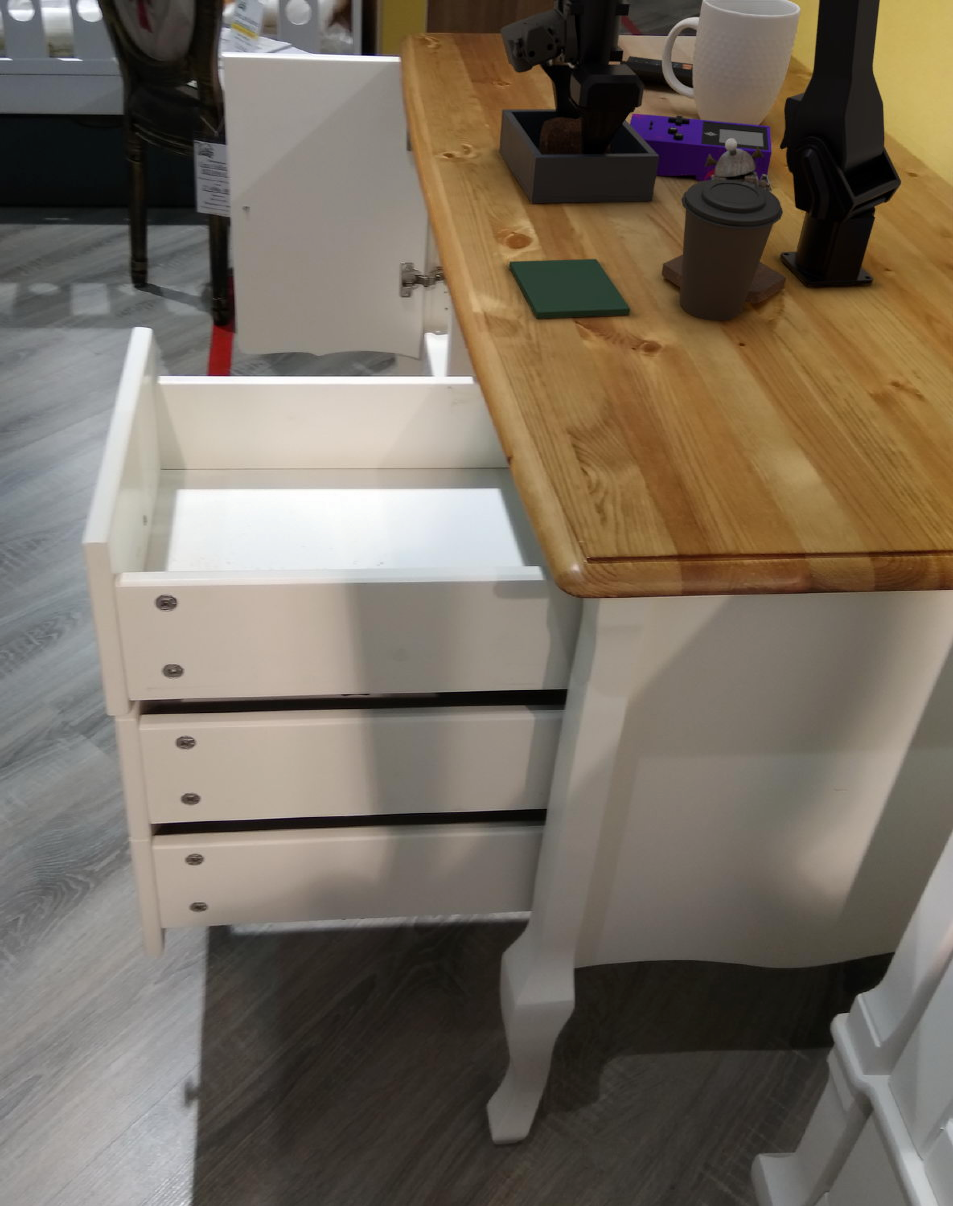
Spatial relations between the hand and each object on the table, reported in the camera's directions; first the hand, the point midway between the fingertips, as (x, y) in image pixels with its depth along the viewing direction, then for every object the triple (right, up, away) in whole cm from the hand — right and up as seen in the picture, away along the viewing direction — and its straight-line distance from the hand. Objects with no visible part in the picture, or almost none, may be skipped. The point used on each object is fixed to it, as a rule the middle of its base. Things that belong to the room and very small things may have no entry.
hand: (576, 153), depth 120 cm
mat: (-2, -20, -20) cm, 28 cm away
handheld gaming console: (+13, +1, +7) cm, 15 cm away
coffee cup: (+10, -21, -21) cm, 31 cm away
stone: (0, -2, +1) cm, 2 cm away
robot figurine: (+12, -18, -17) cm, 28 cm away
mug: (+19, +11, +19) cm, 29 cm away
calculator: (+13, +21, +31) cm, 40 cm away
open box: (0, -2, +2) cm, 2 cm away
